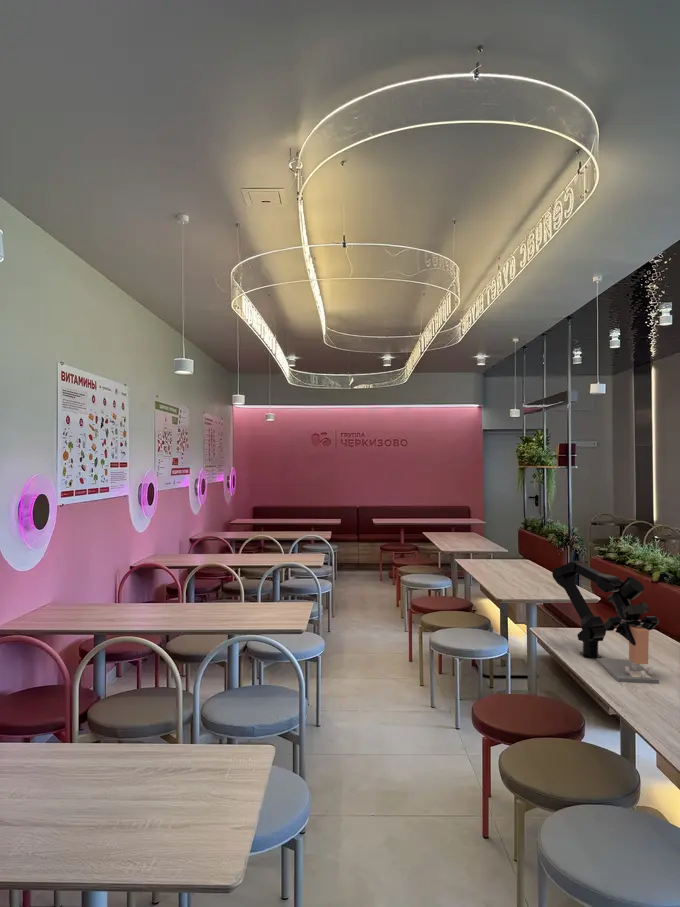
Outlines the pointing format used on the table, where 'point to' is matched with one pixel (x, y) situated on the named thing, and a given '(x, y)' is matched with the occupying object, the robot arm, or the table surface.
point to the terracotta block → (639, 645)
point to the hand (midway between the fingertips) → (641, 644)
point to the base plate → (627, 670)
